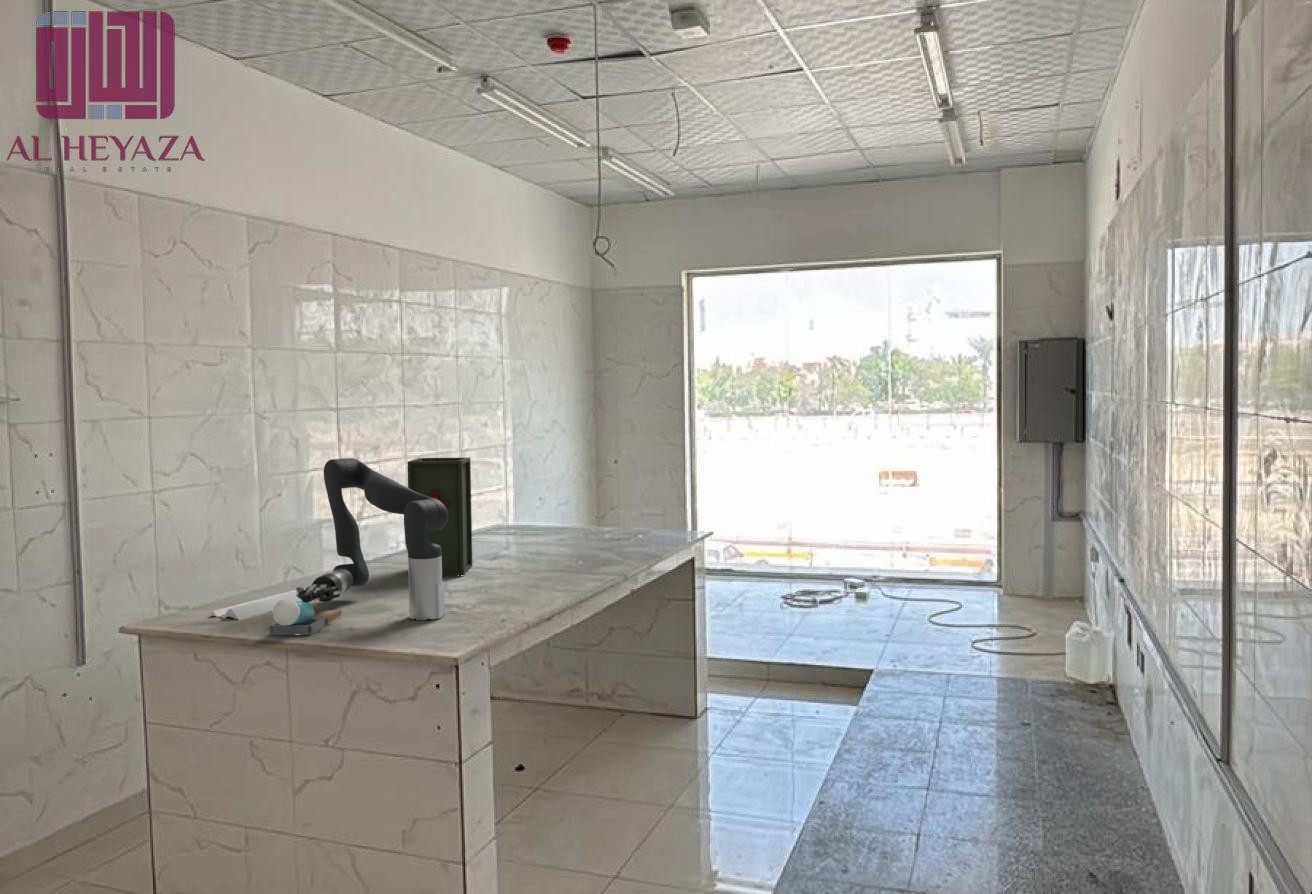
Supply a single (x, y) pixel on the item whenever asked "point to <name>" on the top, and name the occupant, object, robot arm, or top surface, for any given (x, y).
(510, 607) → the top surface
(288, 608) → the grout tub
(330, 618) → the light tan wooden board
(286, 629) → the tray
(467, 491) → the first aid box
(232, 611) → the crown molding
